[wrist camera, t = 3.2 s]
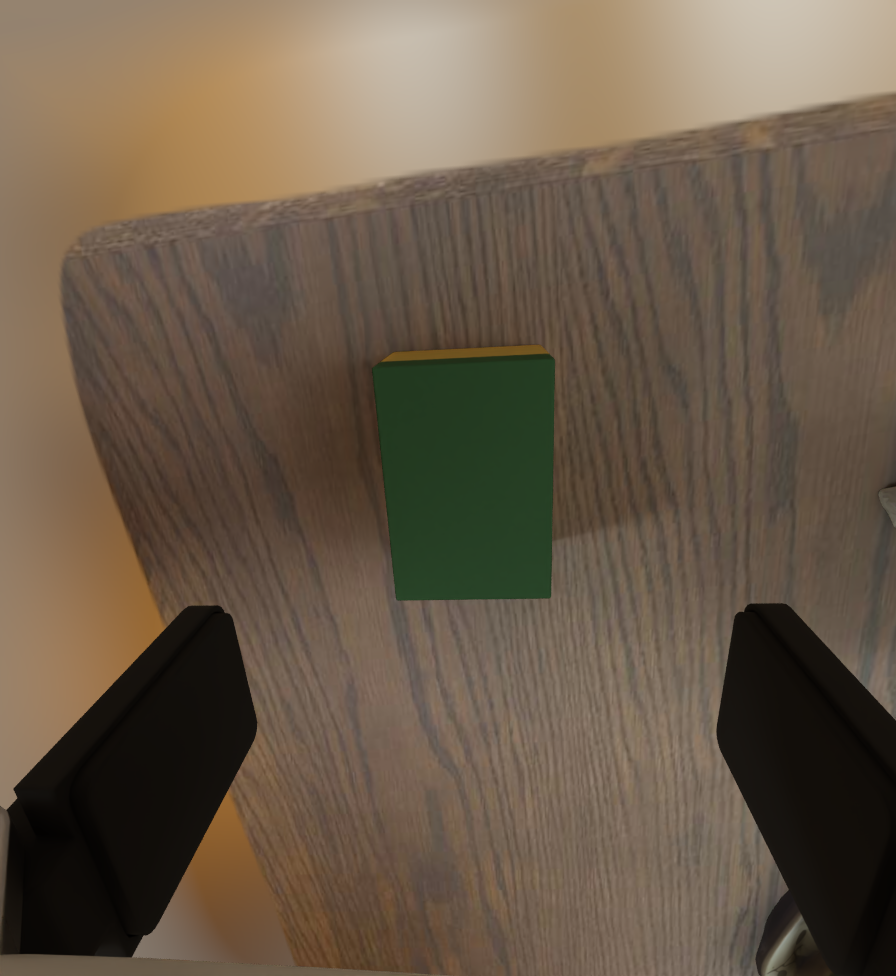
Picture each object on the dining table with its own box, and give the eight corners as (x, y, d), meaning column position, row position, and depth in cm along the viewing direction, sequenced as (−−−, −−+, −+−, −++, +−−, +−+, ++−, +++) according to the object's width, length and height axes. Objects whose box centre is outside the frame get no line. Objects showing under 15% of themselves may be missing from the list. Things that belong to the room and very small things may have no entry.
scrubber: (539, 545, 24) (551, 599, 20) (410, 548, 25) (395, 601, 20) (540, 344, 21) (555, 358, 17) (392, 351, 22) (371, 367, 17)
